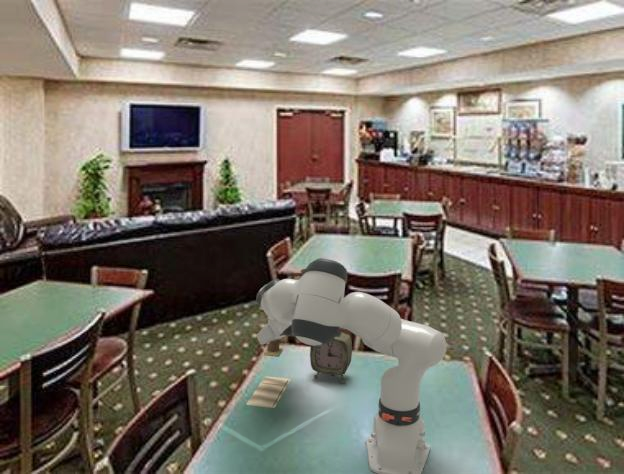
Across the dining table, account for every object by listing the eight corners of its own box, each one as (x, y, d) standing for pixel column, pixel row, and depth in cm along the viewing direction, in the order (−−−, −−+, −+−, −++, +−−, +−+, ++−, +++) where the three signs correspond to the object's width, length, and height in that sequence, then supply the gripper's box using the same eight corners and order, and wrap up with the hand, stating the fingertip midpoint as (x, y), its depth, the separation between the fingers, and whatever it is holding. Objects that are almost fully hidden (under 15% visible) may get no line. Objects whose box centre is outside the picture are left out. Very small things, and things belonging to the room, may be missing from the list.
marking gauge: (282, 350, 190) (283, 327, 189) (278, 356, 185) (278, 332, 183) (268, 349, 191) (268, 326, 190) (263, 355, 186) (263, 331, 184)
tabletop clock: (309, 380, 197) (310, 317, 193) (316, 370, 206) (317, 309, 201) (347, 386, 193) (348, 321, 188) (352, 375, 201) (354, 313, 197)
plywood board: (274, 412, 174) (274, 408, 173) (245, 408, 176) (245, 404, 175) (290, 382, 195) (290, 379, 195) (265, 380, 197) (265, 376, 197)
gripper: (307, 306, 188) (288, 325, 196) (265, 319, 173) (246, 340, 181) (316, 320, 186) (296, 339, 194) (275, 336, 171) (255, 355, 179)
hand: (272, 340), depth 188 cm, fingers closed on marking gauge, 3 cm apart
